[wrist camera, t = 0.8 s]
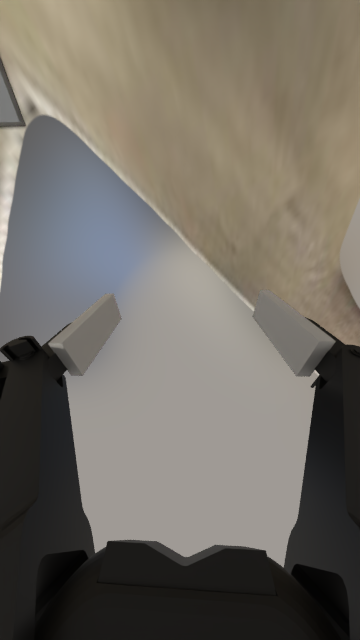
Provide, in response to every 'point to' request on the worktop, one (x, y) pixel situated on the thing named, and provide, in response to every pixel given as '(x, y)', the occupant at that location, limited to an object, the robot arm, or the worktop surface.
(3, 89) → the board
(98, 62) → the worktop surface
